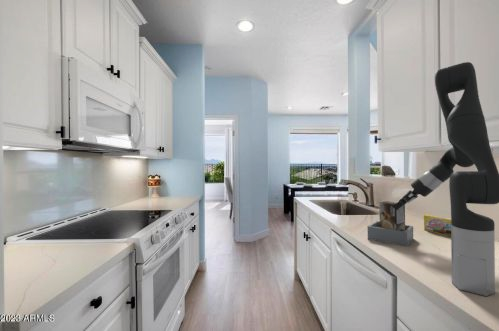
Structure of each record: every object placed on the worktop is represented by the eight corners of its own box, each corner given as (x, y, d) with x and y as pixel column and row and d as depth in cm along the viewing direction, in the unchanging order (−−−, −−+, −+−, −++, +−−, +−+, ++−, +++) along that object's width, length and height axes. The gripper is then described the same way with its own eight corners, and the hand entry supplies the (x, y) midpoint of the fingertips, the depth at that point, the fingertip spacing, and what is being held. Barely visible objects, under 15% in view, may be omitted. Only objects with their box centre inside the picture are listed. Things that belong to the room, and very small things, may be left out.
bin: (407, 246, 105) (407, 232, 105) (367, 238, 116) (367, 226, 116) (413, 238, 116) (413, 226, 116) (376, 232, 127) (376, 221, 127)
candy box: (423, 230, 130) (423, 214, 130) (426, 229, 131) (426, 214, 131) (458, 238, 115) (458, 221, 115) (461, 238, 116) (461, 220, 116)
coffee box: (406, 238, 113) (406, 203, 113) (397, 240, 110) (396, 204, 110) (387, 233, 121) (387, 201, 121) (378, 235, 119) (378, 201, 119)
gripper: (421, 176, 113) (393, 199, 121) (416, 178, 103) (386, 202, 111) (436, 188, 110) (406, 211, 117) (432, 191, 99) (399, 216, 107)
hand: (396, 207), depth 114 cm, fingers open, 8 cm apart
